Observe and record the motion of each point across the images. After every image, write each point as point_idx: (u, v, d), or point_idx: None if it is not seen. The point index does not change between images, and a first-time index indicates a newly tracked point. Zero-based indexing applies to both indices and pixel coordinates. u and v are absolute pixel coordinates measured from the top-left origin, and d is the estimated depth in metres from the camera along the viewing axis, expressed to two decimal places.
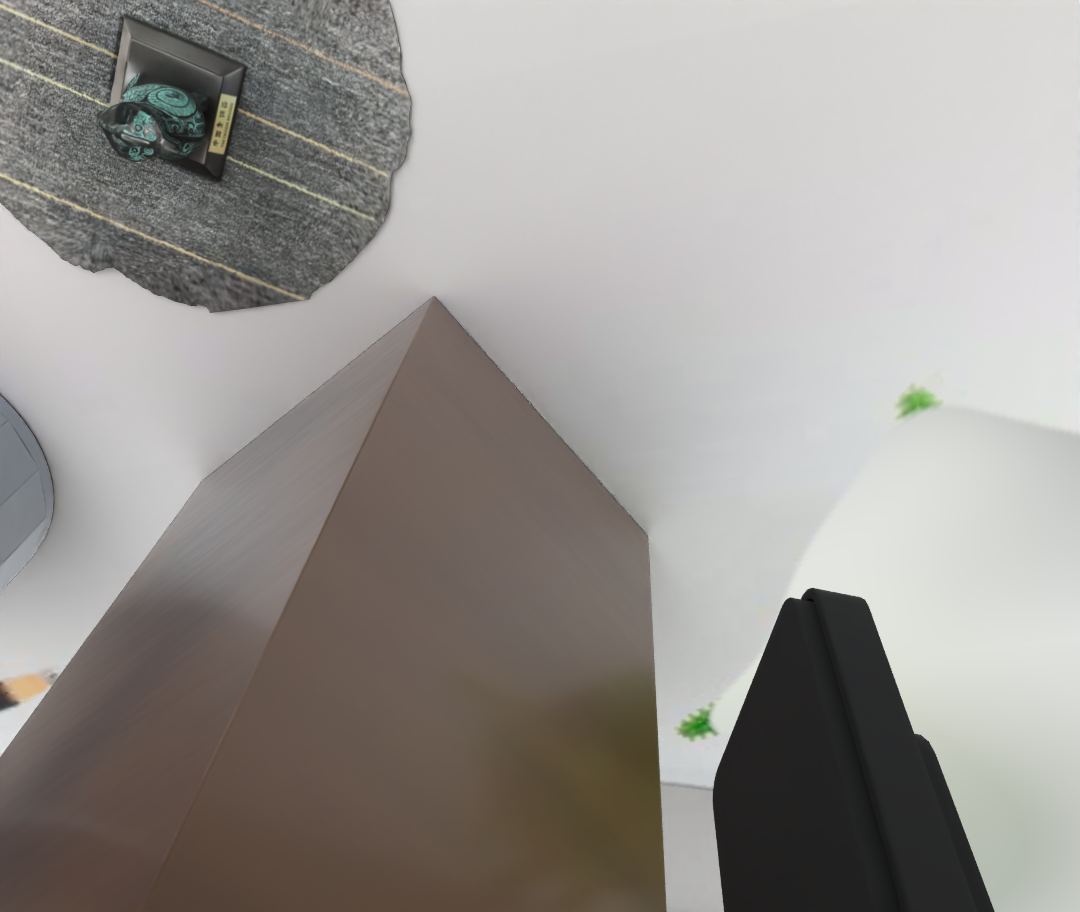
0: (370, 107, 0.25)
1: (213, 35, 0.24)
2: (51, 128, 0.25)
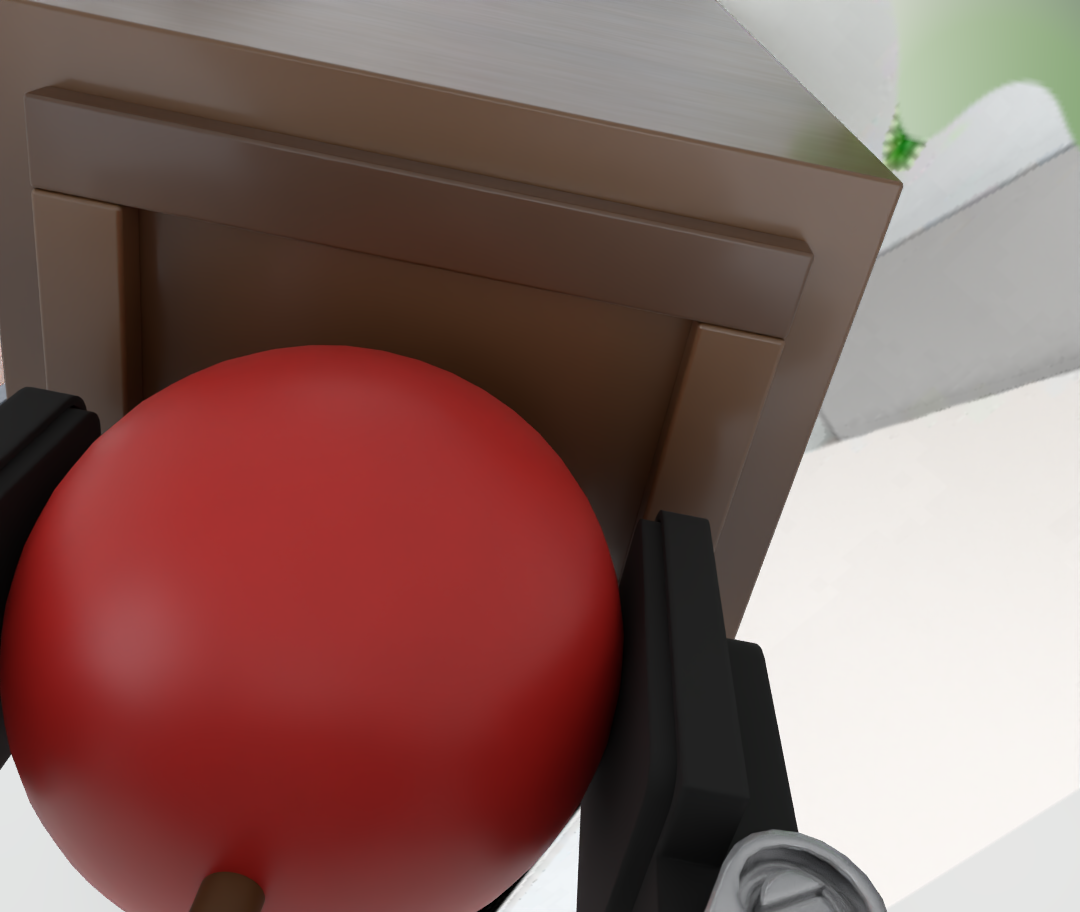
0: None
1: None
2: None
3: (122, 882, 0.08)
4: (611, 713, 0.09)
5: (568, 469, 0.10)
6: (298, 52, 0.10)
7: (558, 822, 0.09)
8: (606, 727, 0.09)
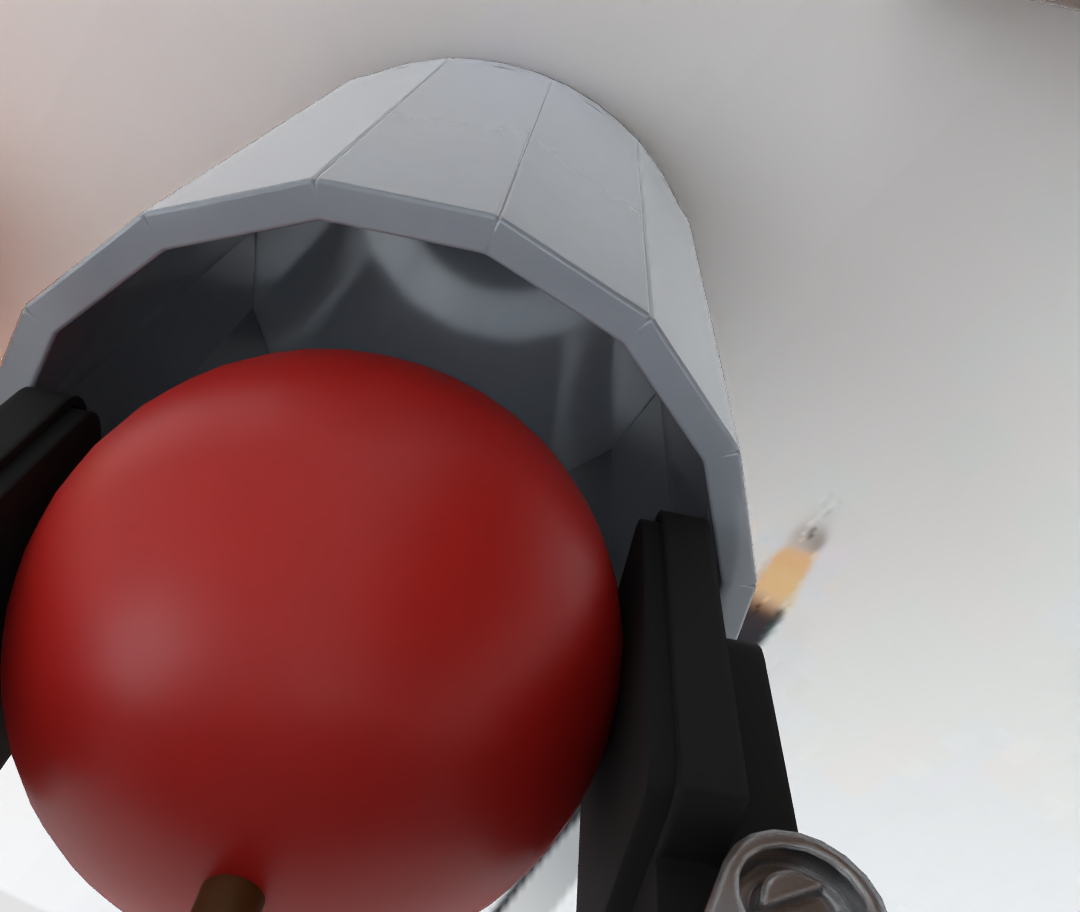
0: None
1: None
2: None
3: (124, 883, 0.08)
4: (610, 716, 0.09)
5: None
6: None
7: (557, 824, 0.09)
8: (605, 730, 0.09)
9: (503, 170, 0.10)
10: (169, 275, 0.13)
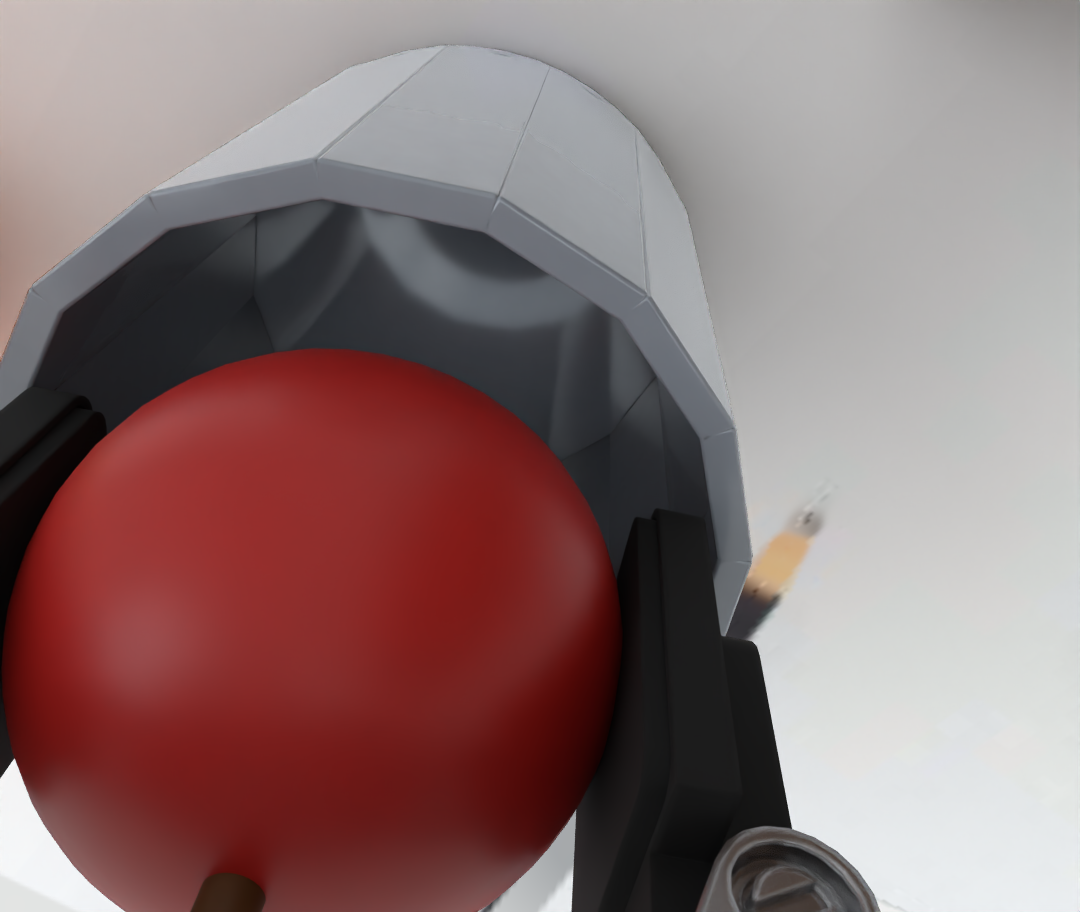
0: None
1: None
2: None
3: (125, 884, 0.08)
4: (610, 715, 0.09)
5: None
6: None
7: (557, 824, 0.09)
8: (605, 729, 0.09)
9: (502, 152, 0.11)
10: (172, 259, 0.14)
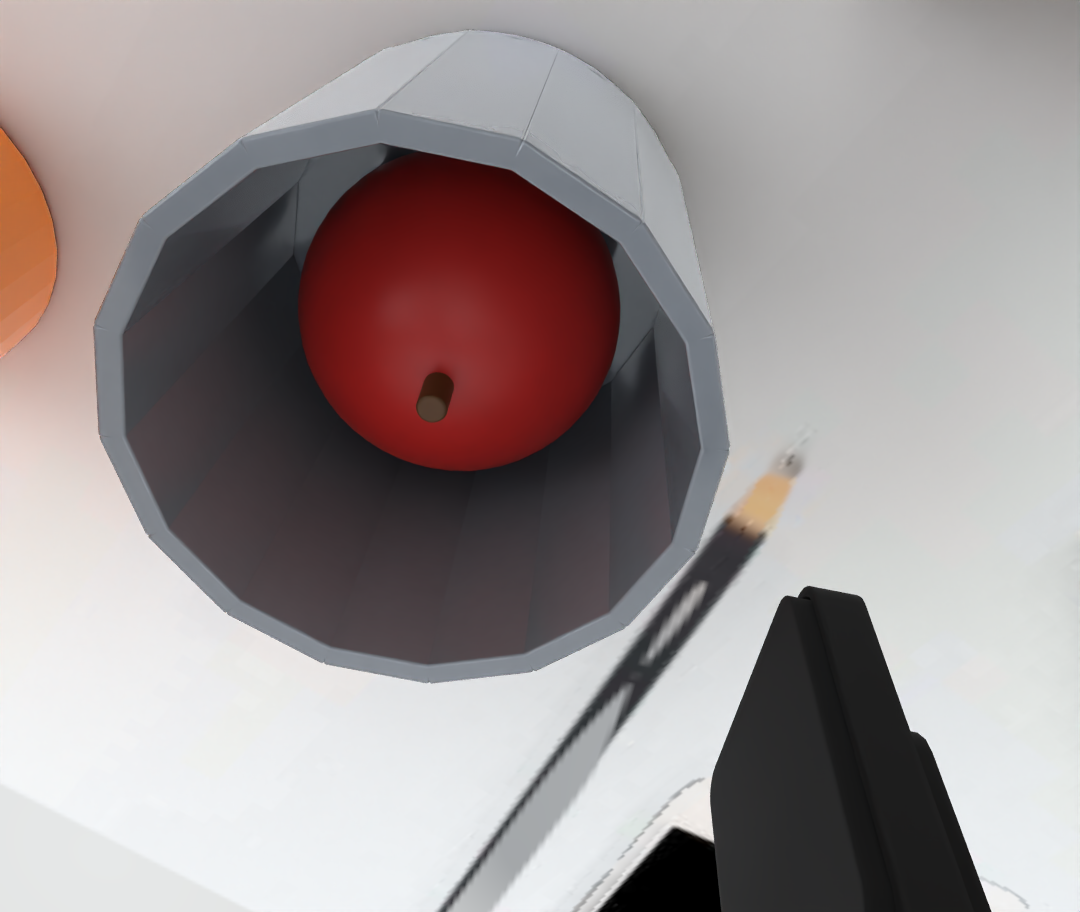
0: None
1: None
2: None
3: (382, 389, 0.16)
4: (614, 337, 0.18)
5: None
6: None
7: (588, 385, 0.17)
8: (611, 343, 0.18)
9: (523, 110, 0.13)
10: (237, 209, 0.16)
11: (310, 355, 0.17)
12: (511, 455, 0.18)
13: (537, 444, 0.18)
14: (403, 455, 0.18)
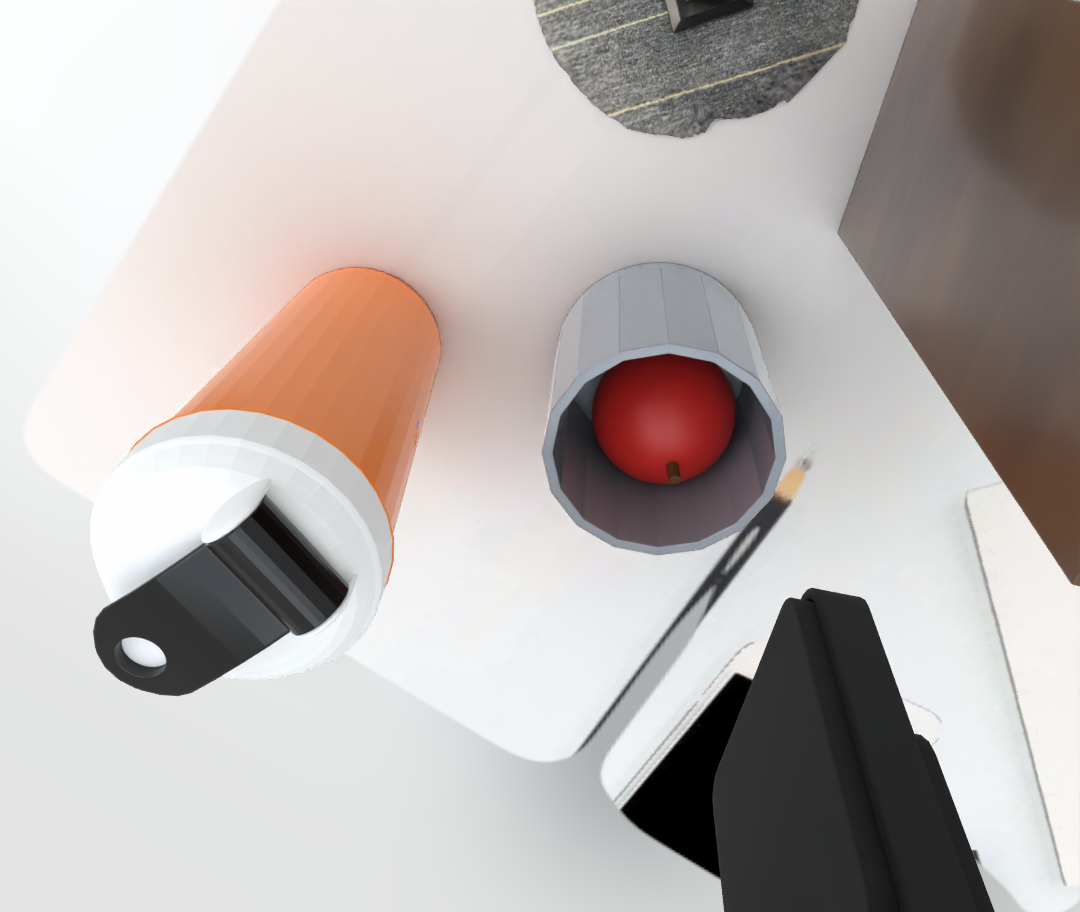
0: None
1: None
2: (640, 55, 0.37)
3: (647, 466, 0.39)
4: None
5: None
6: None
7: (724, 449, 0.40)
8: (733, 429, 0.41)
9: (710, 333, 0.35)
10: None
11: (607, 446, 0.40)
12: None
13: None
14: (645, 481, 0.41)
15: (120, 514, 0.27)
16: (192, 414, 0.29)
